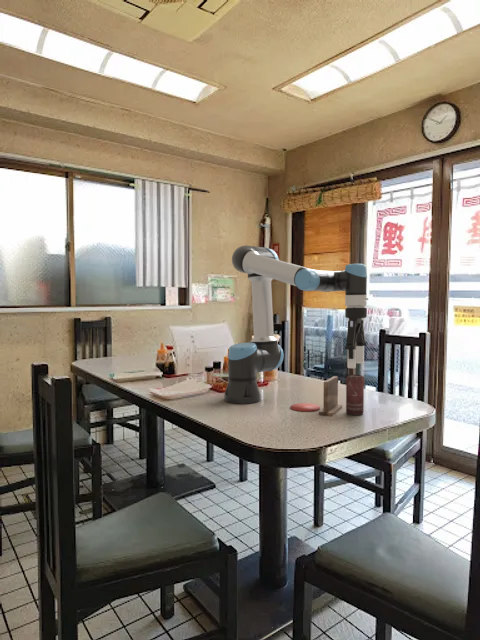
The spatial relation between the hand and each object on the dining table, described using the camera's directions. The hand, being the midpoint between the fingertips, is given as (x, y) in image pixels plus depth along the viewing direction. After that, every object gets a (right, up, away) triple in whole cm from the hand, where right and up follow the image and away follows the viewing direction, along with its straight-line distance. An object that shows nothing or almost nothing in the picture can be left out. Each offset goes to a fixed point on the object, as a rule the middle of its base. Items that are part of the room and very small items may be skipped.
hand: (355, 365), depth 161 cm
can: (0, -18, +1) cm, 18 cm away
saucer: (-17, -17, +9) cm, 26 cm away
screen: (-8, -17, +5) cm, 20 cm away
